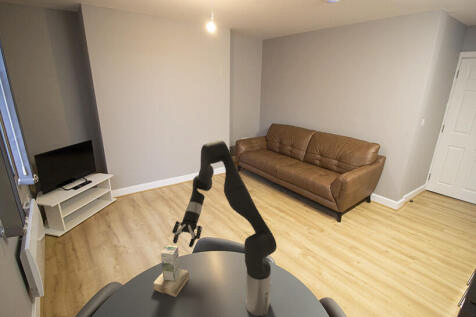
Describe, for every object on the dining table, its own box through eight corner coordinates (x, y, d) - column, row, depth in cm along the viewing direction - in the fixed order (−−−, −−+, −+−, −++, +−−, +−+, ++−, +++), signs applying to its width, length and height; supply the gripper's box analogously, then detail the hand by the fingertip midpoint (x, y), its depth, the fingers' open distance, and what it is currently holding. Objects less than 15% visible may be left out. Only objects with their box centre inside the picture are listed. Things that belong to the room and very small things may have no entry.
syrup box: (180, 272, 106) (178, 245, 102) (175, 282, 100) (172, 254, 96) (169, 270, 106) (166, 244, 103) (163, 280, 101) (160, 252, 97)
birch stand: (189, 278, 108) (188, 271, 106) (175, 297, 97) (175, 289, 96) (169, 272, 111) (168, 265, 110) (154, 290, 101) (153, 282, 100)
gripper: (177, 208, 116) (165, 240, 109) (202, 212, 112) (192, 247, 105) (183, 212, 123) (173, 243, 115) (208, 216, 118) (198, 249, 111)
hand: (182, 245), depth 110 cm, fingers open, 8 cm apart
